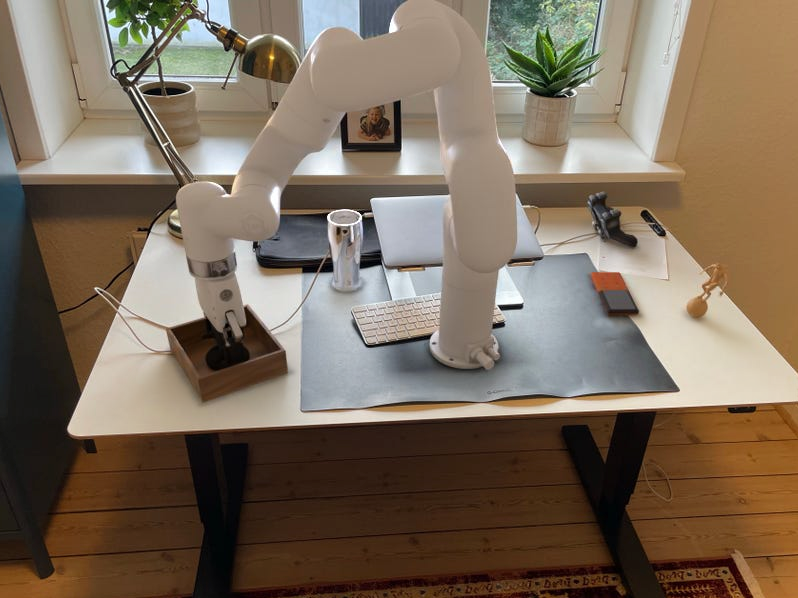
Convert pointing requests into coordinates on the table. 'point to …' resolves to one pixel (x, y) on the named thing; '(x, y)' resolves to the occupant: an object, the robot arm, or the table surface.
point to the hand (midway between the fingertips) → (226, 347)
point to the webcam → (220, 349)
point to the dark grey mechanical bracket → (608, 220)
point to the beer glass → (345, 248)
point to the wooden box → (212, 384)
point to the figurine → (708, 290)
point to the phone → (614, 293)
